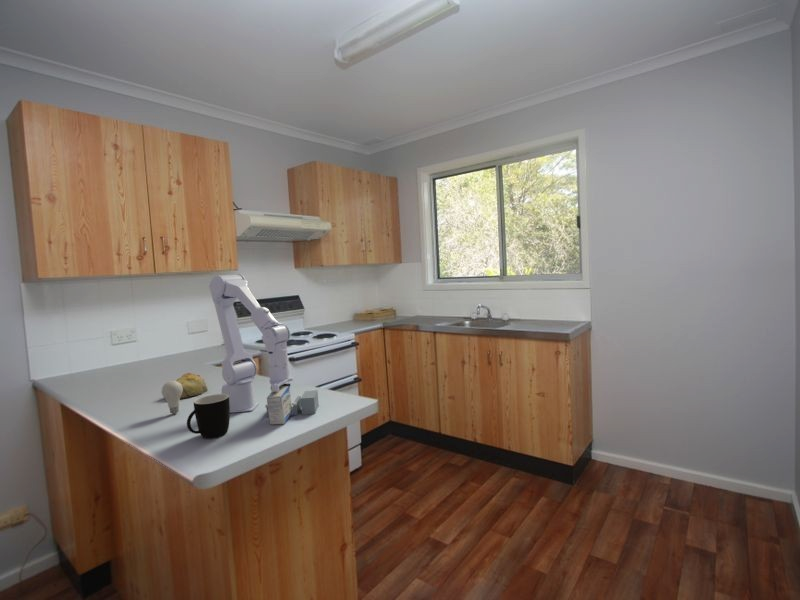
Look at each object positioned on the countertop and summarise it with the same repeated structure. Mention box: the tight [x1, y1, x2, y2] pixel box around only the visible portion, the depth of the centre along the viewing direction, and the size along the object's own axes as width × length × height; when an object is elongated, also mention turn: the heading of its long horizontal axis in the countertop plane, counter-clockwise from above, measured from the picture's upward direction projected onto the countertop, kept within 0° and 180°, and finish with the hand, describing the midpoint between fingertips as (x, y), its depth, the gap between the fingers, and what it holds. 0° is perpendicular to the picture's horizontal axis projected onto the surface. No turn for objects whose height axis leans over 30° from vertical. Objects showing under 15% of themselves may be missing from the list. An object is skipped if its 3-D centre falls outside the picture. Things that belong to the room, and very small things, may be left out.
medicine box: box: [266, 386, 293, 425], centre depth 125 cm, size 8×4×9 cm, turn 177°
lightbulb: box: [161, 380, 183, 415], centre depth 138 cm, size 6×6×11 cm
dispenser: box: [264, 389, 319, 418], centre depth 133 cm, size 15×9×5 cm, turn 93°
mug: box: [186, 393, 231, 440], centre depth 116 cm, size 12×9×10 cm
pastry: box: [175, 372, 208, 399], centre depth 161 cm, size 14×12×8 cm
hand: (282, 408), depth 130 cm, fingers closed, pressing on medicine box
